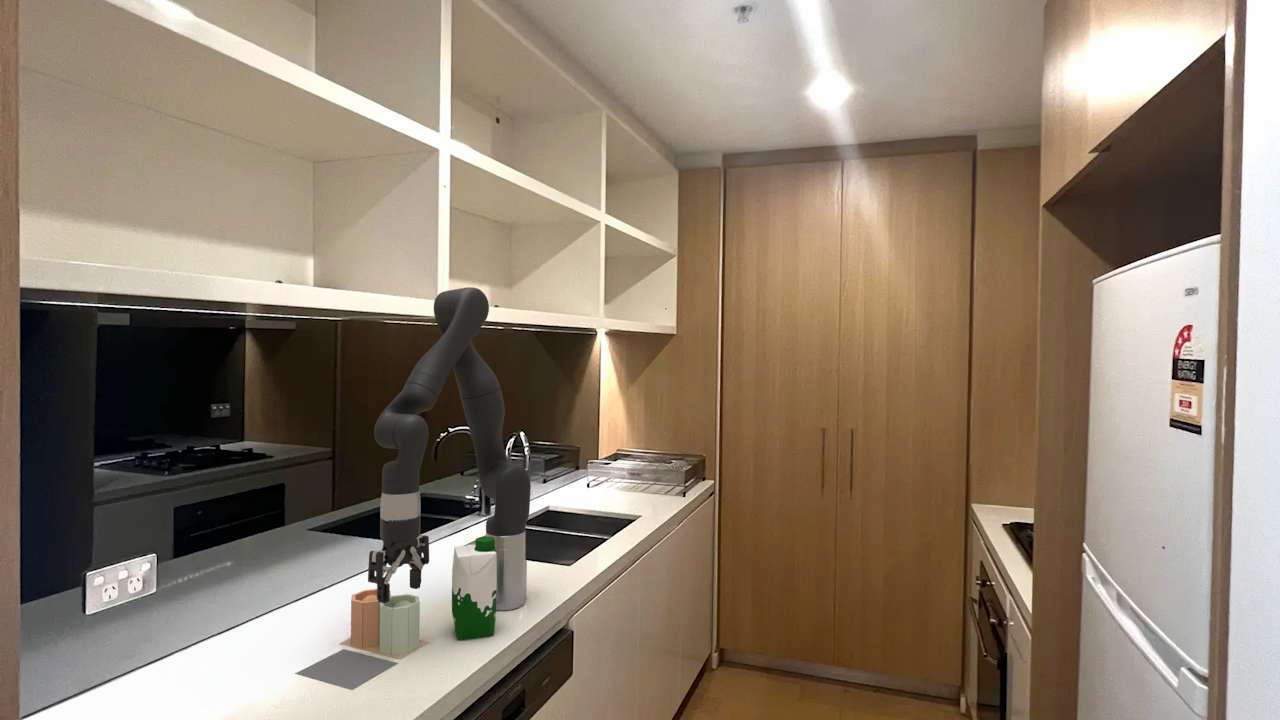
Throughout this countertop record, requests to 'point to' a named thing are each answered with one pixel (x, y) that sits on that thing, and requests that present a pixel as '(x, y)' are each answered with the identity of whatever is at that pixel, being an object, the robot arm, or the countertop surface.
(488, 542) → the milk carton
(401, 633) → the tubes
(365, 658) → the mat
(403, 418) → the robot arm
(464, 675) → the countertop surface
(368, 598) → the ball rust
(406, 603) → the ball sage
